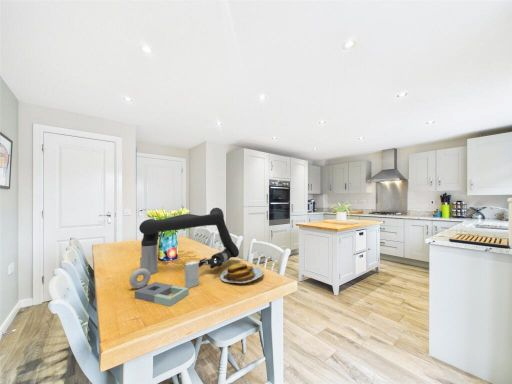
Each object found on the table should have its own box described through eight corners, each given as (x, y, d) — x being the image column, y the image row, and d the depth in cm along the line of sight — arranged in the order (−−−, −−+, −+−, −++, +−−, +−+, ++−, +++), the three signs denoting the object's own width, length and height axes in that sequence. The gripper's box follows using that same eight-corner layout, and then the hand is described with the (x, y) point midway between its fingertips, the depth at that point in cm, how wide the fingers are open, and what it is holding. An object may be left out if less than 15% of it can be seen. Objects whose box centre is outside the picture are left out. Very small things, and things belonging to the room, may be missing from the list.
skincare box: (194, 282, 118) (194, 260, 118) (199, 285, 115) (199, 262, 115) (184, 286, 113) (184, 263, 113) (189, 288, 110) (189, 265, 110)
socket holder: (134, 297, 101) (134, 291, 101) (155, 287, 112) (155, 281, 112) (170, 306, 92) (170, 299, 93) (188, 294, 104) (188, 288, 104)
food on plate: (258, 288, 111) (258, 275, 111) (213, 285, 116) (213, 272, 116) (265, 271, 136) (265, 260, 136) (228, 269, 141) (227, 259, 141)
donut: (130, 292, 107) (130, 271, 107) (128, 289, 109) (128, 270, 110) (151, 286, 114) (151, 267, 114) (149, 284, 116) (149, 265, 117)
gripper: (229, 265, 137) (214, 274, 122) (210, 263, 142) (194, 271, 127) (228, 253, 137) (214, 260, 122) (210, 251, 142) (194, 258, 127)
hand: (204, 266), depth 124 cm, fingers open, 8 cm apart
